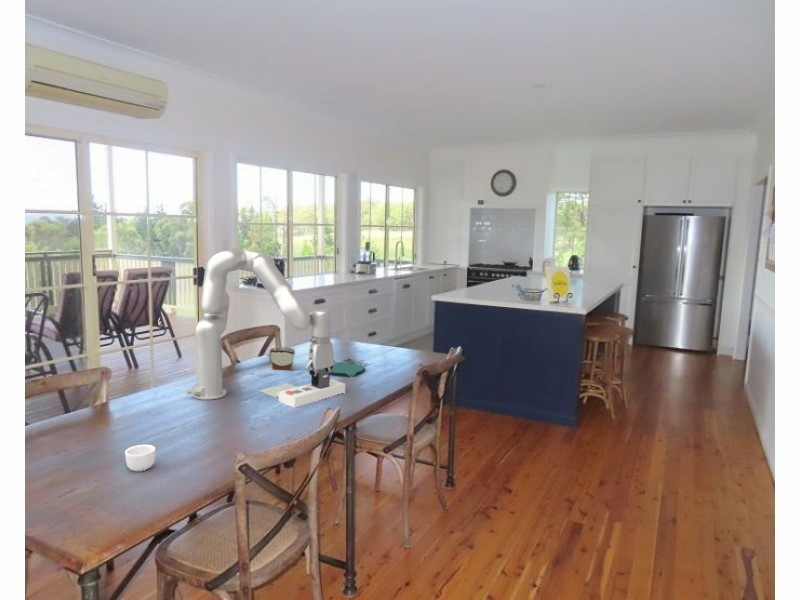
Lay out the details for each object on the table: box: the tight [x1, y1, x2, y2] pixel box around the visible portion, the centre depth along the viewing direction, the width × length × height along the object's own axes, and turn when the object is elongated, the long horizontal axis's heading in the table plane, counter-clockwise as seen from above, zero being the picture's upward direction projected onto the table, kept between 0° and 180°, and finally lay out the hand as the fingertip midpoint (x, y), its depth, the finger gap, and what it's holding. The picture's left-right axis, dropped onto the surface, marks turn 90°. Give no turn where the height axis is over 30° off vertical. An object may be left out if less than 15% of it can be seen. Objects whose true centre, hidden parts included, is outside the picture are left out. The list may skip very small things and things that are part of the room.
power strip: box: [278, 378, 346, 409], centre depth 220 cm, size 26×10×5 cm, turn 139°
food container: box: [269, 346, 296, 372], centre depth 259 cm, size 12×6×10 cm, turn 84°
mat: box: [259, 382, 297, 399], centre depth 227 cm, size 14×12×1 cm
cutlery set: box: [322, 357, 366, 377], centre depth 264 cm, size 20×30×2 cm, turn 159°
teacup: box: [124, 444, 156, 472], centre depth 155 cm, size 10×8×5 cm
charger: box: [312, 369, 329, 389], centre depth 222 cm, size 4×6×8 cm
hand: (320, 382), depth 222 cm, fingers open, 5 cm apart
